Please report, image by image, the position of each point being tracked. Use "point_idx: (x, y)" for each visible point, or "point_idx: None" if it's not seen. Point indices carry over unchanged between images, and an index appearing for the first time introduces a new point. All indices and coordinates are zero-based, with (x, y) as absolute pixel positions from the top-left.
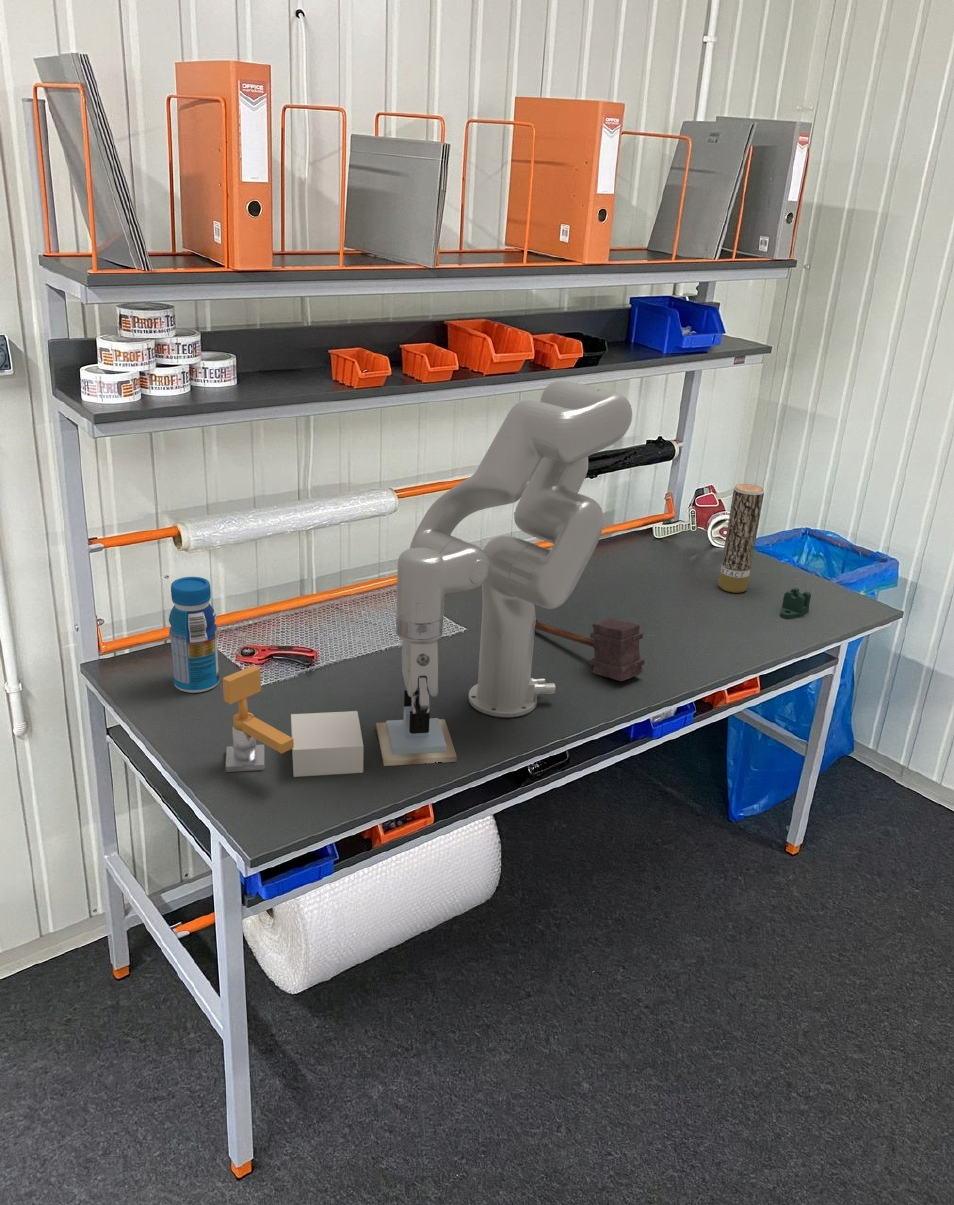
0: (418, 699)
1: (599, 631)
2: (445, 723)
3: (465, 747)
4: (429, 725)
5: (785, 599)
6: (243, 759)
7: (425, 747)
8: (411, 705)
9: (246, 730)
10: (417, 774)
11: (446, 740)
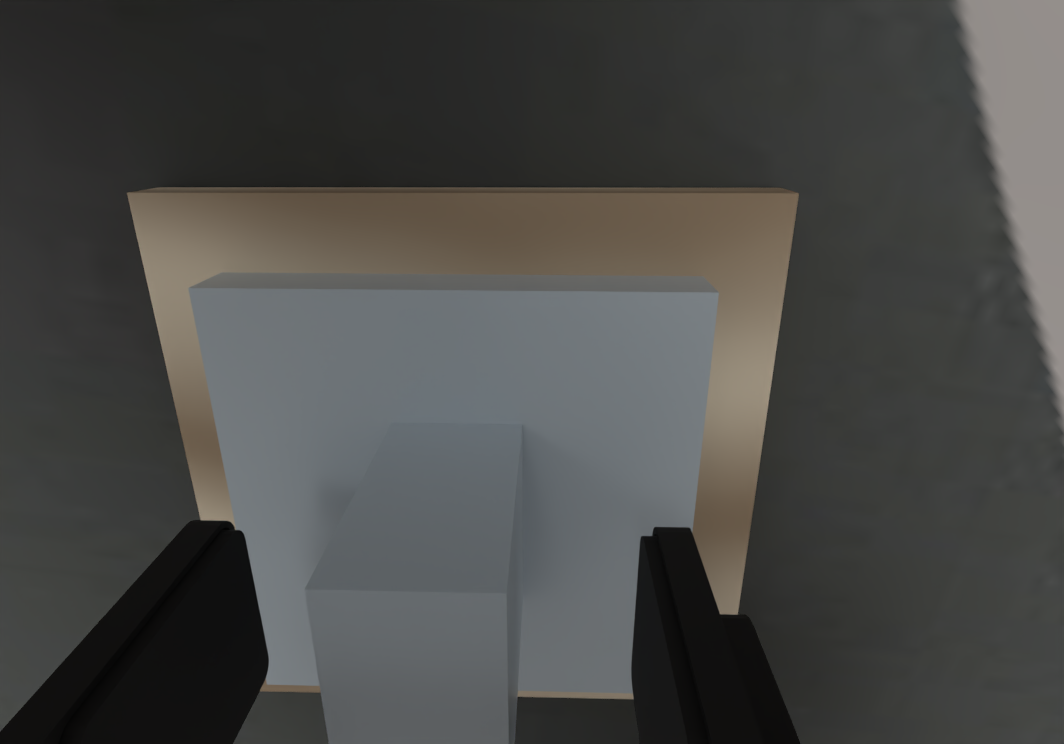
0: (166, 681)
1: None
2: (208, 199)
3: (561, 54)
4: (336, 390)
5: None
6: None
7: (696, 472)
8: (225, 680)
9: None
10: (868, 499)
11: (511, 241)
